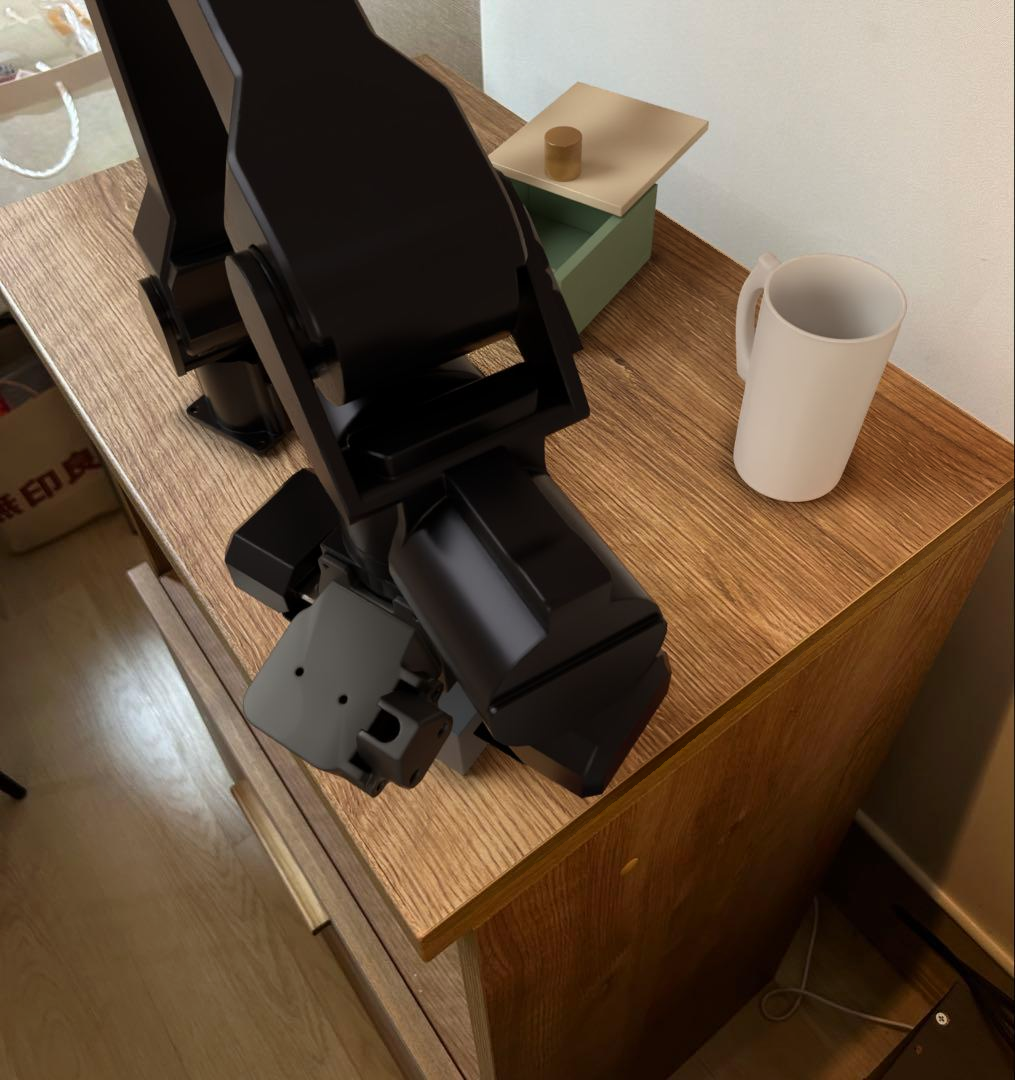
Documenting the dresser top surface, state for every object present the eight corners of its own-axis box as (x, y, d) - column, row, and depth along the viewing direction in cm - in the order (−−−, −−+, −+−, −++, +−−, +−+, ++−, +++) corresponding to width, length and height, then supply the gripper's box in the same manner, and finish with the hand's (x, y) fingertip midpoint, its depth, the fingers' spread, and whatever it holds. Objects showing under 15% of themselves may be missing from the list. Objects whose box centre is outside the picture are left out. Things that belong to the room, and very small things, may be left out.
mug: (871, 482, 56) (937, 315, 46) (771, 523, 54) (819, 359, 45) (769, 374, 62) (810, 206, 52) (677, 408, 60) (702, 241, 50)
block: (396, 733, 47) (385, 693, 44) (445, 672, 49) (438, 629, 46) (464, 776, 46) (458, 737, 42) (511, 712, 48) (509, 670, 44)
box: (428, 299, 67) (420, 226, 62) (525, 211, 73) (524, 139, 68) (560, 355, 63) (561, 281, 59) (650, 257, 69) (658, 183, 65)
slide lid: (483, 168, 66) (481, 123, 63) (577, 90, 72) (578, 46, 69) (621, 217, 62) (624, 171, 59) (708, 130, 68) (714, 85, 65)
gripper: (62, 541, 34) (191, 744, 46) (513, 832, 27) (522, 978, 39) (280, 355, 39) (344, 581, 51) (700, 558, 32) (657, 762, 45)
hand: (453, 712), depth 47 cm, fingers open, 6 cm apart
